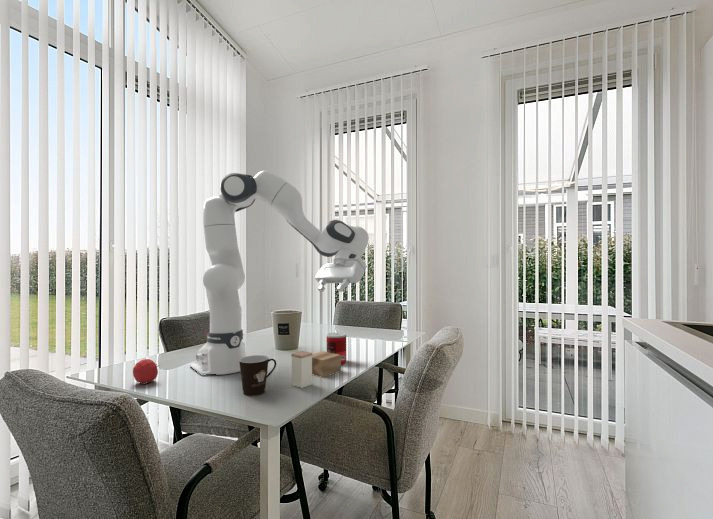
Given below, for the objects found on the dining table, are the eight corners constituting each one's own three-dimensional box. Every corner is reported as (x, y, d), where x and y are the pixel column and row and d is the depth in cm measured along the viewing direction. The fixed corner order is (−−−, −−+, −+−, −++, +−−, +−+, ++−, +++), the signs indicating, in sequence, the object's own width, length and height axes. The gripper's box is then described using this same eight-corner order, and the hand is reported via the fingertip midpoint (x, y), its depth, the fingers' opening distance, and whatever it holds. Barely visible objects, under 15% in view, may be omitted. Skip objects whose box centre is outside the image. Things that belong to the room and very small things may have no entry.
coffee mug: (240, 399, 102) (240, 364, 102) (237, 389, 110) (237, 357, 110) (281, 393, 107) (281, 359, 107) (275, 384, 115) (275, 353, 115)
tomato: (132, 359, 114) (156, 350, 120) (126, 371, 118) (150, 361, 124) (143, 381, 112) (167, 370, 118) (137, 391, 116) (160, 380, 122)
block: (305, 372, 127) (304, 356, 127) (323, 367, 134) (323, 351, 134) (322, 377, 121) (322, 360, 121) (340, 371, 128) (340, 354, 128)
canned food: (347, 359, 143) (347, 332, 143) (345, 365, 135) (344, 336, 135) (328, 359, 144) (328, 332, 144) (325, 365, 136) (324, 336, 136)
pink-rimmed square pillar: (291, 385, 114) (291, 353, 114) (302, 381, 118) (302, 350, 118) (301, 388, 111) (301, 355, 111) (312, 384, 115) (312, 352, 115)
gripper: (321, 258, 141) (304, 285, 133) (362, 254, 128) (346, 284, 120) (330, 268, 144) (314, 295, 136) (370, 266, 131) (355, 296, 124)
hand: (329, 290), depth 128 cm, fingers open, 8 cm apart
